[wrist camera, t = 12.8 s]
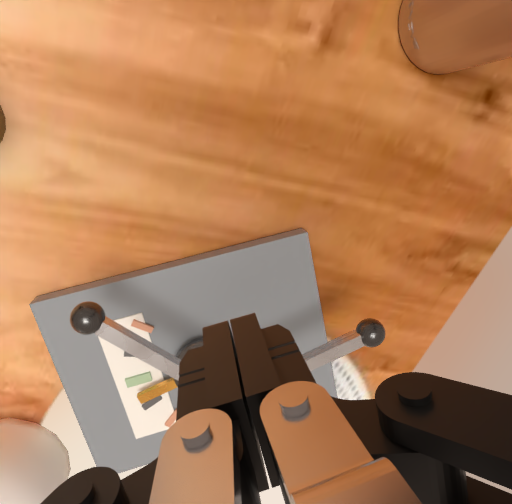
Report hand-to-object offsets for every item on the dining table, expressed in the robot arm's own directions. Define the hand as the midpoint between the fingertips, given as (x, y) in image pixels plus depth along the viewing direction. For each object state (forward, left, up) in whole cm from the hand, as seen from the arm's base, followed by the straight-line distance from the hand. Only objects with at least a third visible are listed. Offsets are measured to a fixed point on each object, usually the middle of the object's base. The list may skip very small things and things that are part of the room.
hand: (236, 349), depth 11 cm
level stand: (+3, +15, -28) cm, 32 cm away
